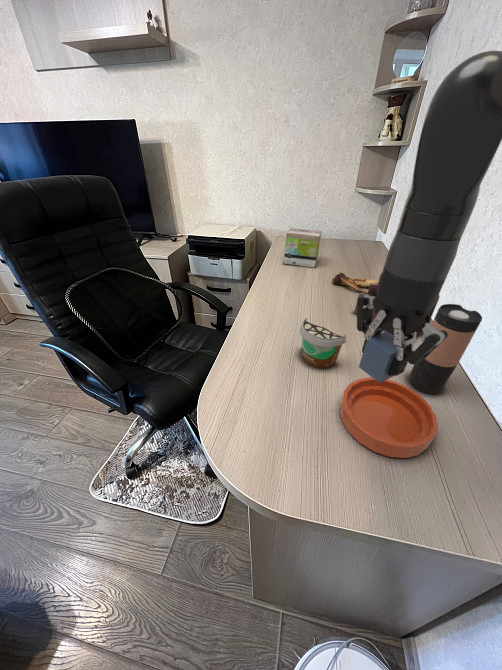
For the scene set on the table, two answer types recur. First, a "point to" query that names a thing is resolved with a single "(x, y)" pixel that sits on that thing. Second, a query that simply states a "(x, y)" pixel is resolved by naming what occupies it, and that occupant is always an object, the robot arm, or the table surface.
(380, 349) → the block
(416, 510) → the table surface
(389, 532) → the table surface
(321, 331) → the food container
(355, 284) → the brown wood root
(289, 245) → the tea box
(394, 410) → the bowl
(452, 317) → the travel mug
